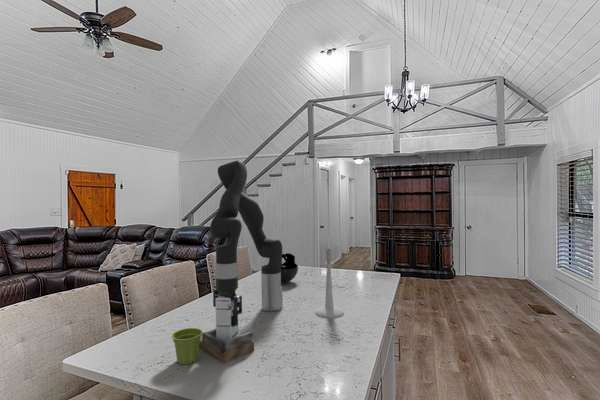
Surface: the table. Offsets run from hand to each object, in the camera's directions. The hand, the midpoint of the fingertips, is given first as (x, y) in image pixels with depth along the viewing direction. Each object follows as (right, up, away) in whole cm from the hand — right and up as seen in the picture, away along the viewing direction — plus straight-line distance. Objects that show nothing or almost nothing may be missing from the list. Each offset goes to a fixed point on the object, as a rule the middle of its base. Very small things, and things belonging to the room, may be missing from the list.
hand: (227, 322), depth 109 cm
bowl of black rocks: (+14, -10, +91) cm, 92 cm away
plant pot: (-11, -10, -7) cm, 16 cm away
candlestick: (+39, -9, +35) cm, 53 cm away
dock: (-2, -9, +2) cm, 10 cm away
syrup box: (0, -5, 0) cm, 5 cm away
